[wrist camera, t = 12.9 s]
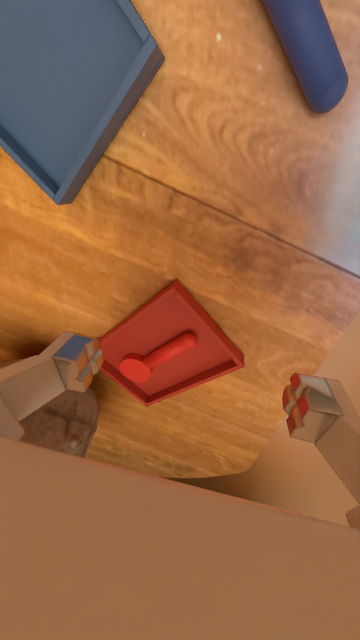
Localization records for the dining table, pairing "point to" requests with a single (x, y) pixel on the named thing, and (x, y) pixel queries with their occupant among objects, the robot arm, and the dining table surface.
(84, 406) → the bowl
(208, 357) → the red tray
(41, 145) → the blue tray
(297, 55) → the blue spoon
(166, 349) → the red spoon
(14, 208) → the dining table surface
